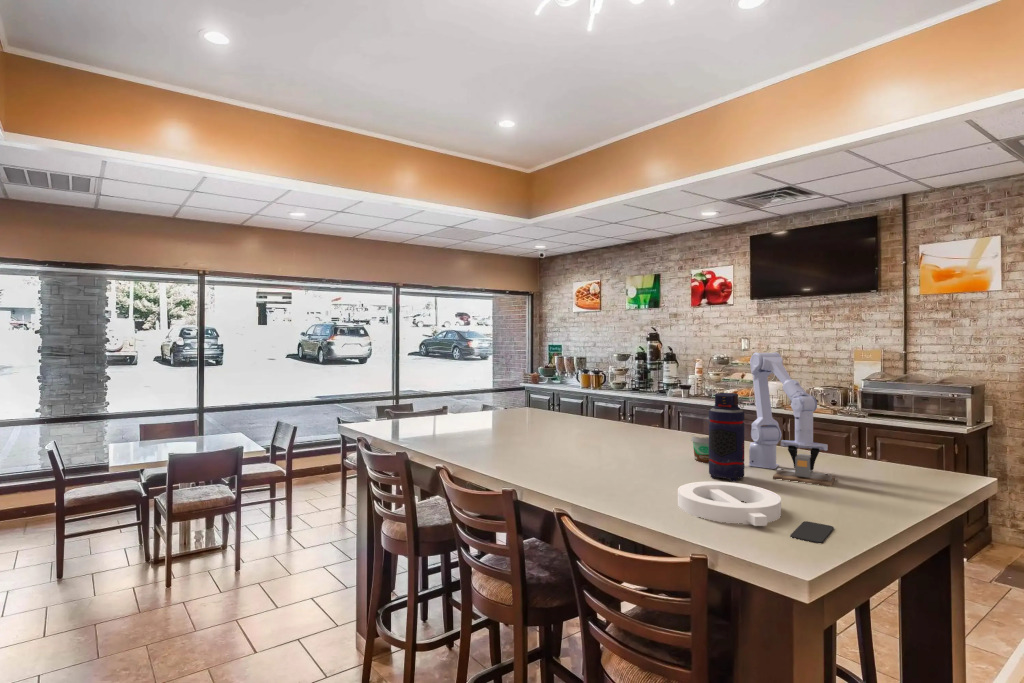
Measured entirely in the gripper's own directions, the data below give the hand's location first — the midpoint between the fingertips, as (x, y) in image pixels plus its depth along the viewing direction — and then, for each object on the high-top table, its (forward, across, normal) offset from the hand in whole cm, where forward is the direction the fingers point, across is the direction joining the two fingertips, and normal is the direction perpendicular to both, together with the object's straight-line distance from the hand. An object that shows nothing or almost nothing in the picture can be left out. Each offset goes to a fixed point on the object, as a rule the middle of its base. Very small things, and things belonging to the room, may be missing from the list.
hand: (803, 468), depth 200 cm
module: (+2, 0, 0) cm, 2 cm away
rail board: (+4, 0, 0) cm, 4 cm away
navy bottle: (+4, -23, -12) cm, 26 cm away
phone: (+4, +10, -60) cm, 61 cm away
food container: (+4, -36, +9) cm, 37 cm away
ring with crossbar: (+4, -13, -51) cm, 53 cm away
